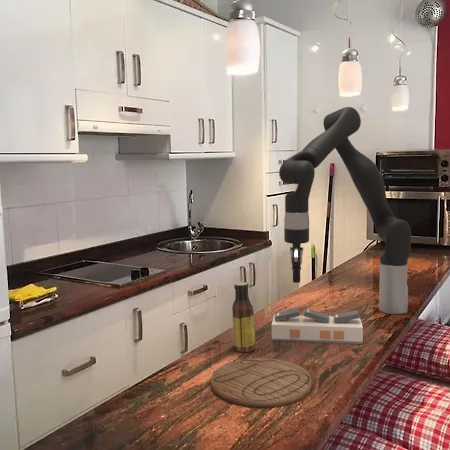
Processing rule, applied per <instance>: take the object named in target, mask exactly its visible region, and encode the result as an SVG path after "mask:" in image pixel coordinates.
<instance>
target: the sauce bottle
mask: <svg viewBox="0 0 450 450" xmlns="http://www.w3.org/2000/svg"><path fill="white" fill-rule="evenodd" d="M233 288H234V290H235V291H234V292H235V297H234V298H235V300H234V301H233V303H232V308H231V309H232V310H231V311H232V327H233V329H232V331H233V345H234V348H235V351H237V352H241V353H250V352H253V351H254V350H255V349H256V333H255V332H256V331H255V314H254V307H253V305H252V303H251V300H250V298H249V282H246V281H239V282H238V281H237V282H235V283H234V287H233Z"/></svg>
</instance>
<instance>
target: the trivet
mask: <svg viewBox="0 0 450 450" xmlns="http://www.w3.org/2000/svg"><path fill="white" fill-rule="evenodd" d="M210 386H211V390H212V392H213V393H214V394H215V395H216V396H217V397H219V398H220V399H221V400H223V401H225V402H228V403H231V404H233V405H236V406H242V407H247V408H258V409H259V408H260V409H261V408H262V409H267V408H279V407H282V406H283V407H284V406H287V405H291V404H294V403H297V402H299V401H301V400H302V399H304V398H306V397H307V396H308V395H309V394H310V392H311V391H312V376H311V374H310V373H309V371H308V370H307V369H305V368H303V367H302V366H301V365H298V364H296V363H294V362H291V361H286V360H284V359H283V360H282V359H279V358H278V359H277V358H269V357H268V358H267V357H265V358H264V357H253V358H244V359H237V360H234V361H230V362H228V363H227V362H226V363H225V364H223V365H221V366H219V367H217V368H216V370H214V371H213V372H212V374H211V378H210Z"/></svg>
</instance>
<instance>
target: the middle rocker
mask: <svg viewBox="0 0 450 450" xmlns="http://www.w3.org/2000/svg"><path fill="white" fill-rule="evenodd" d="M303 315H304V316H305V317H308V318H312V319H314V320H315V321H317V320H319V321H322V322H326V323H328V322H329V316H330V314H328V313H327V314H326V313H324V312H320V311H317V310H313V309H310V308H304V311H303Z"/></svg>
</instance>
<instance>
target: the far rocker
mask: <svg viewBox="0 0 450 450" xmlns="http://www.w3.org/2000/svg"><path fill="white" fill-rule="evenodd" d="M300 313H301V312H300V308H299V307H296V308H292V309H289V310H284V311H279V312H276V313H274V315H275V321H280V320H285V319H286V320H289V318H293V317H298V316H300V315H301V314H300Z"/></svg>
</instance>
